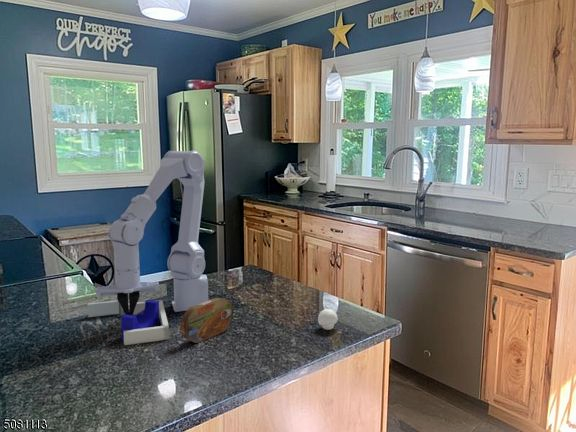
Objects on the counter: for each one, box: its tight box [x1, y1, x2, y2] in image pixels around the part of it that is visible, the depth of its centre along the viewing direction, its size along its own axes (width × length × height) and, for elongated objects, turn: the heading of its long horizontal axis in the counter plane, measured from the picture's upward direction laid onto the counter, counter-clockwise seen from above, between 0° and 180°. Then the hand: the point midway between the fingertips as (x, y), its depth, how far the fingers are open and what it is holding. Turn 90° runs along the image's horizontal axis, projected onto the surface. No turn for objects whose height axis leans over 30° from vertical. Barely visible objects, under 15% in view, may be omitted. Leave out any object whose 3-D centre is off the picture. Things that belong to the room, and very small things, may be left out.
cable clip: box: [120, 299, 160, 342], centre depth 107 cm, size 12×4×6 cm, turn 168°
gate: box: [86, 300, 124, 318], centre depth 117 cm, size 1×8×4 cm, turn 110°
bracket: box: [123, 299, 170, 346], centre depth 110 cm, size 10×20×3 cm, turn 20°
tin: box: [180, 297, 234, 344], centre depth 105 cm, size 15×3×8 cm, turn 143°
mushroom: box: [317, 308, 339, 331], centre depth 109 cm, size 5×5×5 cm
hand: (129, 321), depth 109 cm, fingers closed
